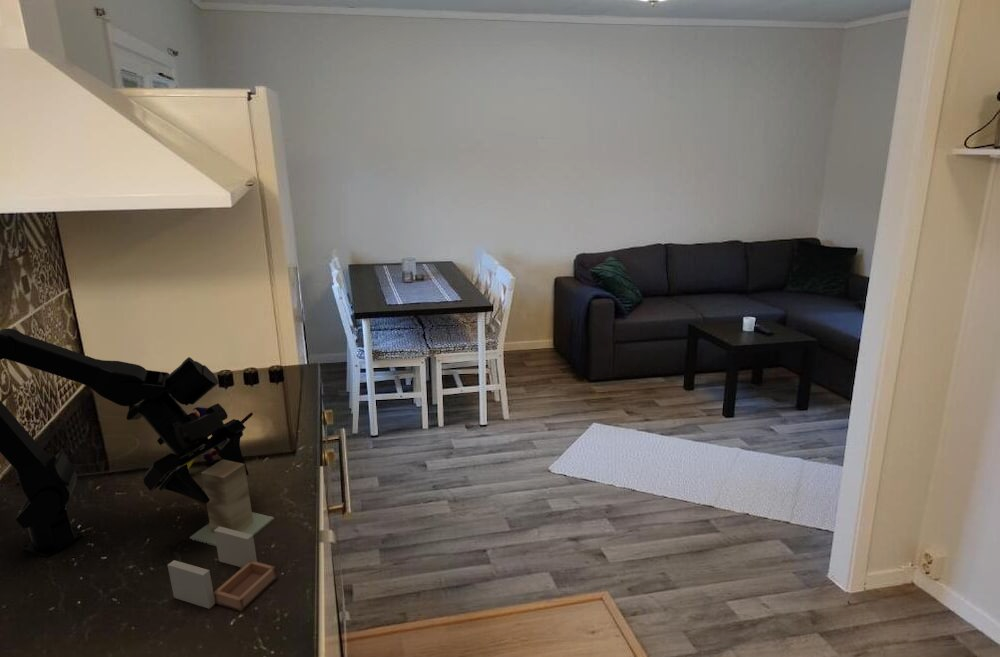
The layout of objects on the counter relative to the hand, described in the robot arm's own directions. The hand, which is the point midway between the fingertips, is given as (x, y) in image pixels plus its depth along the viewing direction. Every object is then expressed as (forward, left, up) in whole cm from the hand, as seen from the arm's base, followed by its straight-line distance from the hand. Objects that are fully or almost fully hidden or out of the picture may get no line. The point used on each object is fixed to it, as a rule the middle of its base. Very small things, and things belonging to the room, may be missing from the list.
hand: (228, 488), depth 110 cm
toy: (-20, +16, -9) cm, 27 cm away
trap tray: (+13, -12, -8) cm, 20 cm away
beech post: (-1, 0, -8) cm, 8 cm away
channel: (+7, -12, -8) cm, 16 cm away
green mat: (-1, 0, -8) cm, 9 cm away
